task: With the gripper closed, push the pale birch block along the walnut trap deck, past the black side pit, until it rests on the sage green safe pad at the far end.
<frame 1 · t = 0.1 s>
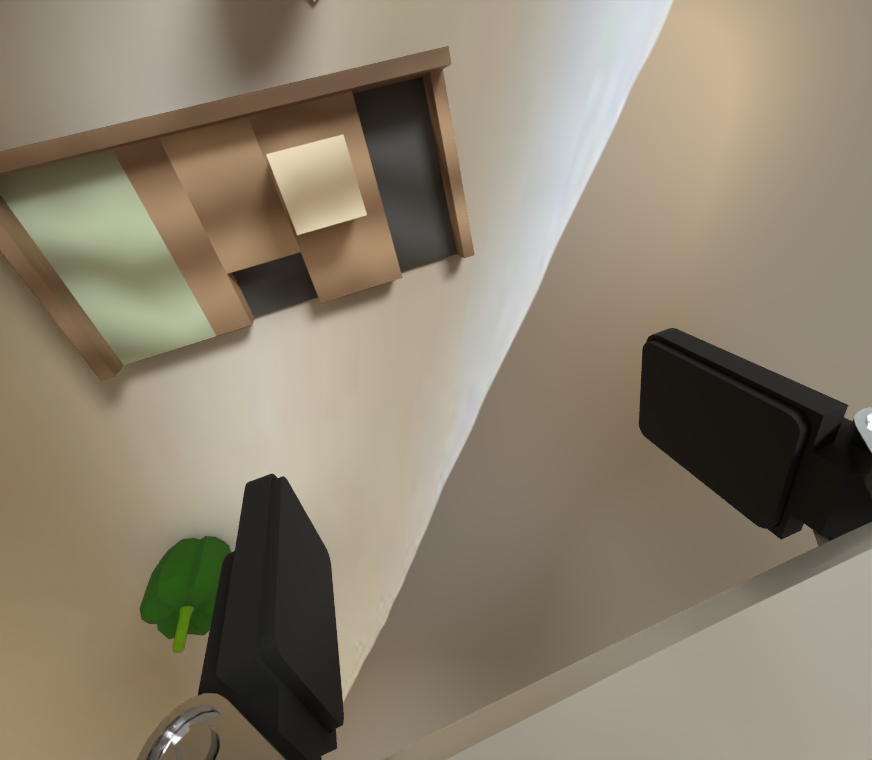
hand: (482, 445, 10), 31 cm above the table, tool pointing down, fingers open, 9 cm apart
trap deck: (276, 219, 34), on the table
birch block: (316, 182, 32), point 2 cm above the table, touching trap deck
bell pepper: (200, 549, 47), on the table
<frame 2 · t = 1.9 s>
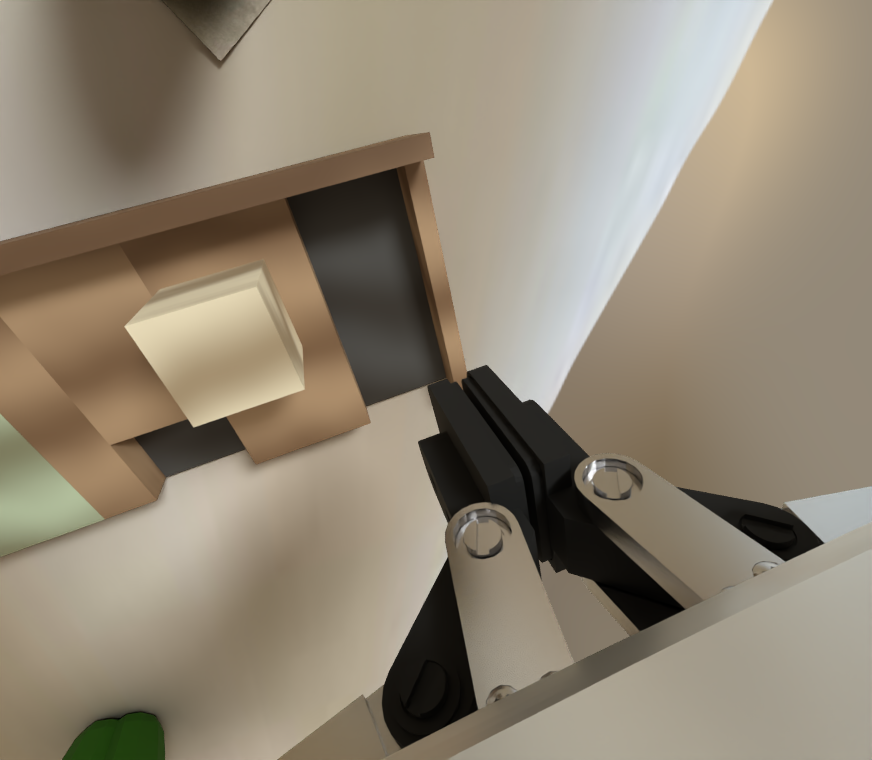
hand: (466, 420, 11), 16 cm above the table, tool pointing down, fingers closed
trap deck: (188, 357, 24), on the table
birch block: (236, 320, 21), point 2 cm above the table, touching trap deck
bell pepper: (123, 724, 37), on the table
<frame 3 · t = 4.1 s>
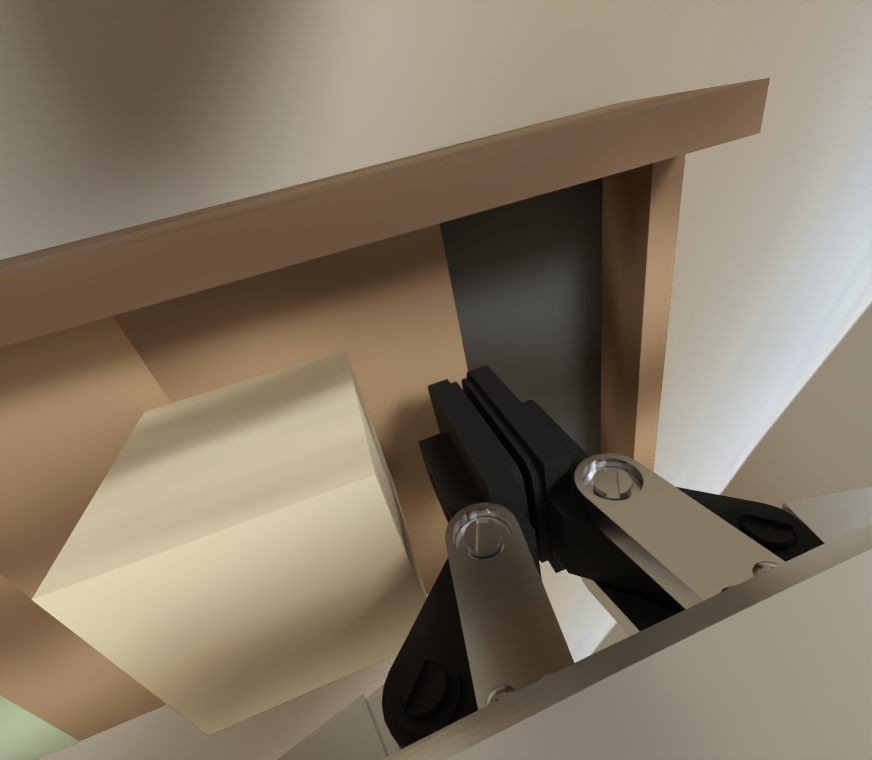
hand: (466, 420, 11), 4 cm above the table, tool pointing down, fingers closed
trap deck: (225, 474, 14), on the table
birch block: (287, 452, 12), point 3 cm above the table, touching gripper, trap deck
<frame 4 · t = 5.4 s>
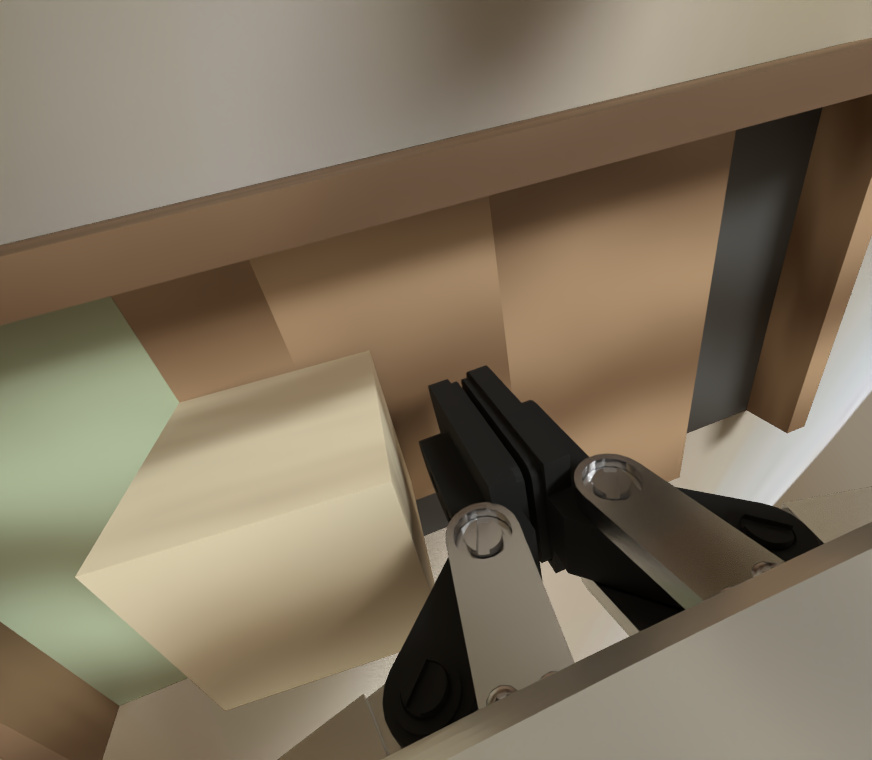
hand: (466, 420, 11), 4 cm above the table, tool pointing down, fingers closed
trap deck: (460, 381, 16), on the table
birch block: (309, 447, 12), point 3 cm above the table, touching gripper, trap deck
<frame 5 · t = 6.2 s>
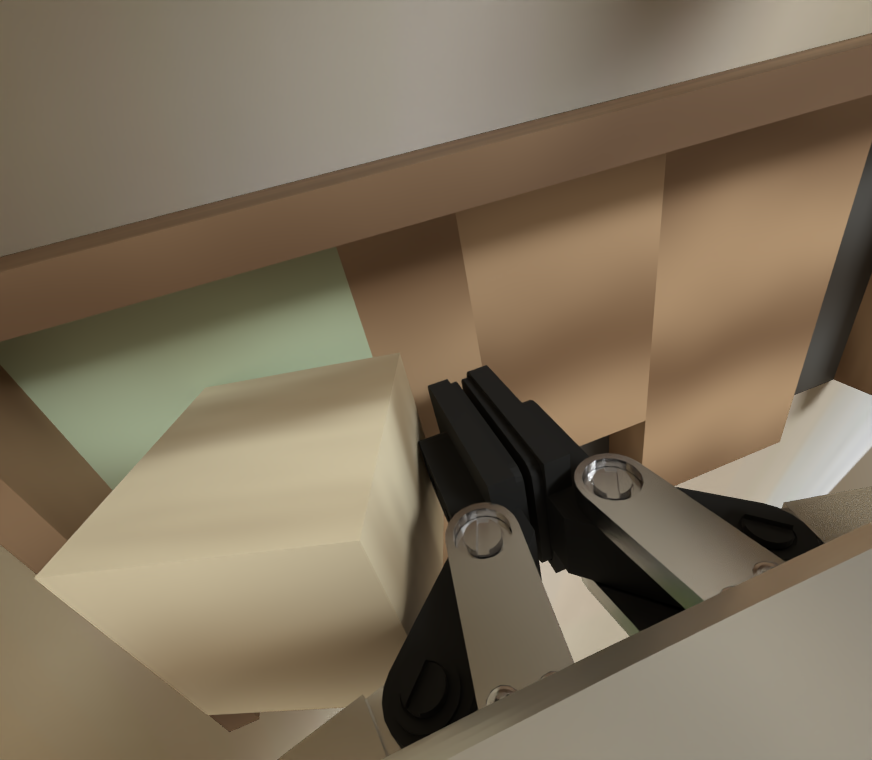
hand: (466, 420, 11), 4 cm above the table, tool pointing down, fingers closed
trap deck: (582, 345, 16), on the table
birch block: (334, 447, 11), point 3 cm above the table, tilted 19°, touching gripper
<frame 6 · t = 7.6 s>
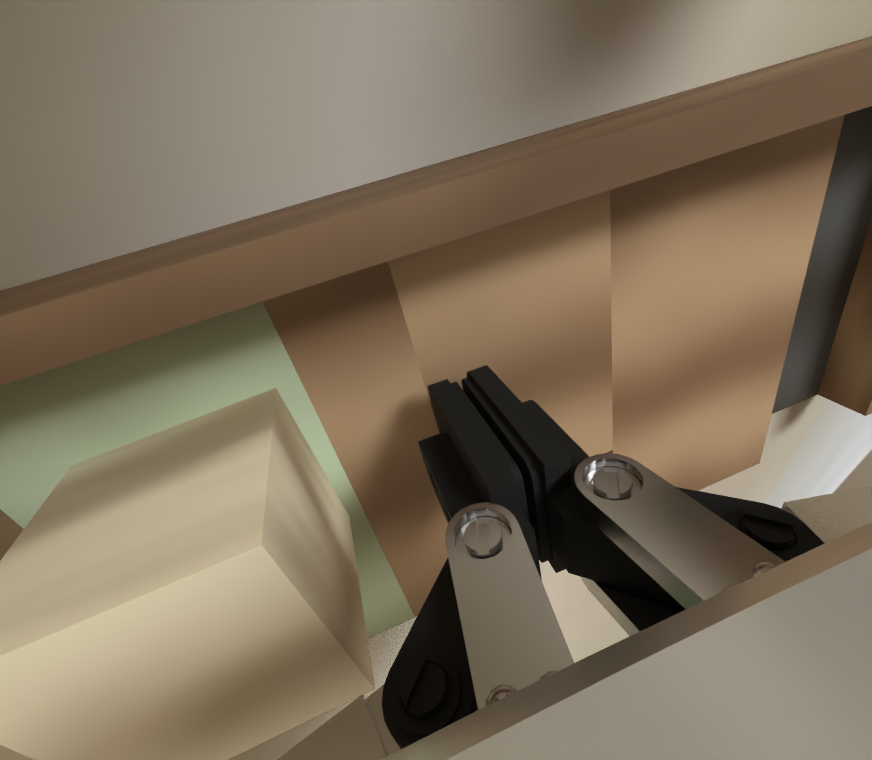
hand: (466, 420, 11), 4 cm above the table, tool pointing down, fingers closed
trap deck: (547, 372, 16), on the table
birch block: (229, 494, 11), point 3 cm above the table, touching trap deck
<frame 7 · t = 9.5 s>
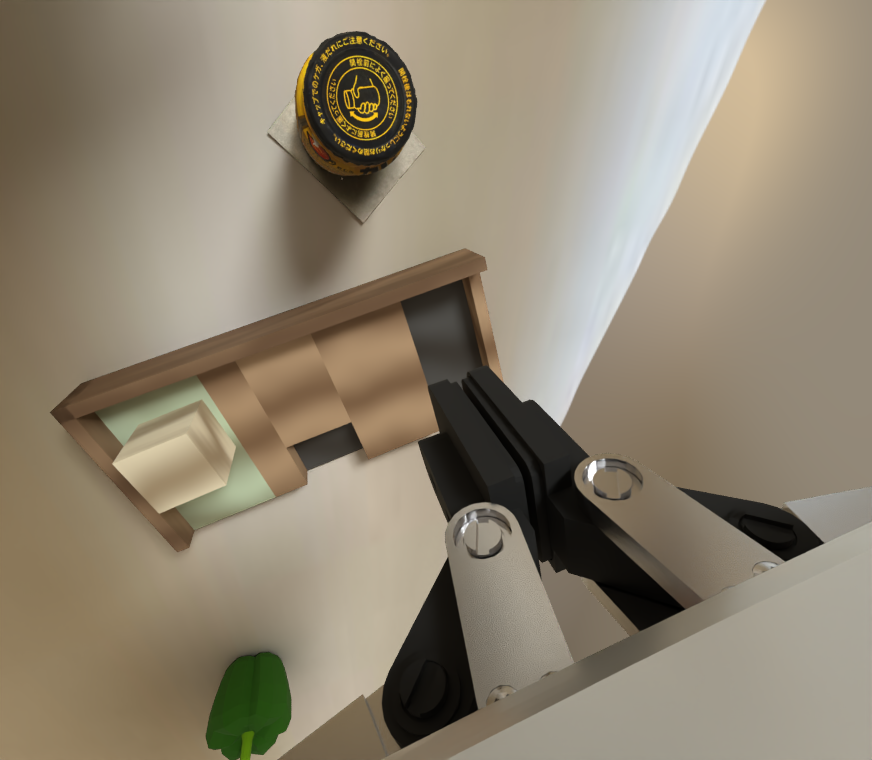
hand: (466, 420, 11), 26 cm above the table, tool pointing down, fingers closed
trap deck: (328, 390, 37), on the table
birch block: (189, 436, 33), point 3 cm above the table, touching trap deck
bell pepper: (254, 663, 50), on the table
condiment: (350, 140, 30), on the table
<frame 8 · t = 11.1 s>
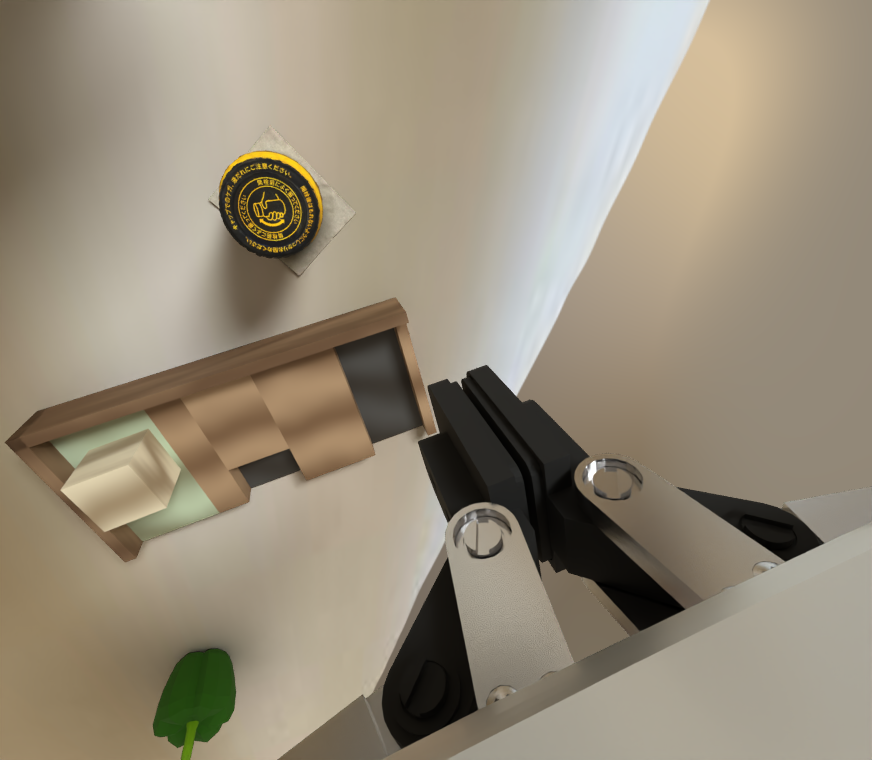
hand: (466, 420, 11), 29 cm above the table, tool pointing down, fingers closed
trap deck: (270, 418, 41), on the table
birch block: (136, 460, 37), point 3 cm above the table, touching trap deck
bell pepper: (204, 658, 54), on the table
condiment: (286, 205, 33), on the table
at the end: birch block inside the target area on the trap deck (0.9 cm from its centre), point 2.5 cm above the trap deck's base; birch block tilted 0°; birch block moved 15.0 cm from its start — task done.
